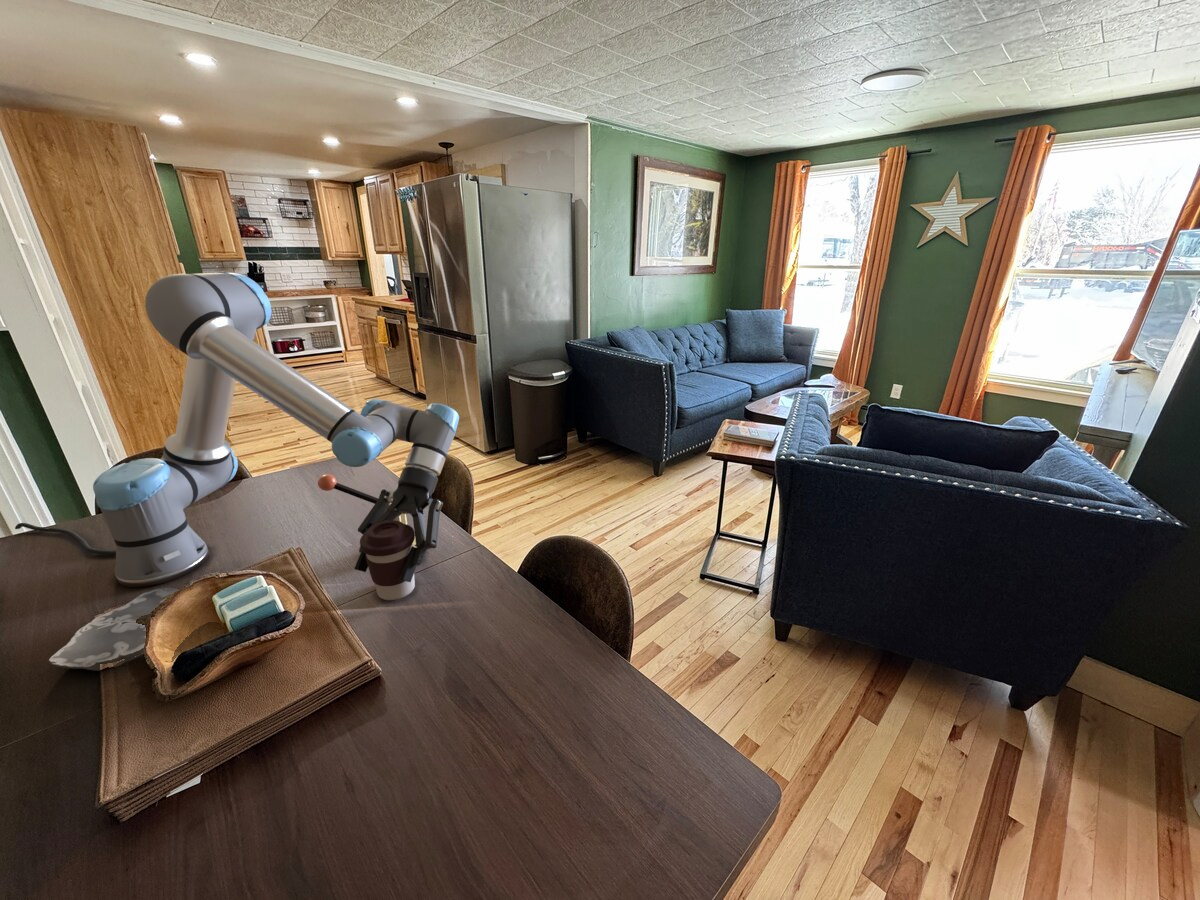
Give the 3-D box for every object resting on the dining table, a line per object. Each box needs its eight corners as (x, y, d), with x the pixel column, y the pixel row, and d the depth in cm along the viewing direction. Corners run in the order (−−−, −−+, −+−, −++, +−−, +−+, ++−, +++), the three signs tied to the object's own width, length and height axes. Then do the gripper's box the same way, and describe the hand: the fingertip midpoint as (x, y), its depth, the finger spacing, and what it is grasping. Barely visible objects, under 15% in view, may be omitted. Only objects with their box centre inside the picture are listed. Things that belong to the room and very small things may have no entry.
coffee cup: (404, 610, 93) (393, 545, 87) (359, 602, 95) (346, 538, 89) (430, 579, 102) (422, 519, 96) (389, 572, 104) (379, 513, 98)
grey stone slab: (139, 682, 76) (132, 669, 75) (35, 679, 76) (27, 665, 75) (230, 601, 94) (225, 588, 93) (146, 598, 94) (140, 586, 93)
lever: (312, 489, 101) (318, 476, 100) (319, 482, 104) (324, 469, 103) (392, 519, 106) (398, 506, 105) (396, 511, 109) (402, 498, 108)
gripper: (475, 485, 102) (441, 589, 94) (387, 471, 108) (347, 568, 100) (460, 473, 96) (421, 584, 87) (367, 458, 101) (322, 561, 93)
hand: (382, 575), depth 94 cm, fingers closed on coffee cup, 10 cm apart
